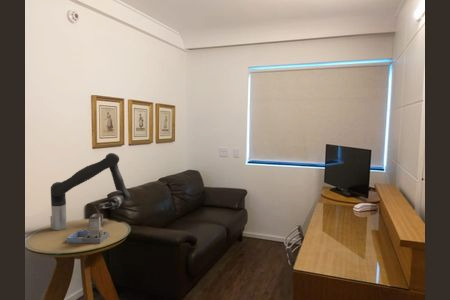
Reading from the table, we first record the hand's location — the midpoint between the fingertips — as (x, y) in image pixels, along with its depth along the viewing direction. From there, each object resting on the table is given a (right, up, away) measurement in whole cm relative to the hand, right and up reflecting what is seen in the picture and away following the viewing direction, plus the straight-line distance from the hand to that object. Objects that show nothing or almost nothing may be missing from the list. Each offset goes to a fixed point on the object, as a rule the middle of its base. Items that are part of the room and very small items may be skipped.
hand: (104, 208), depth 208 cm
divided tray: (-6, -18, -9) cm, 22 cm away
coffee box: (-1, -19, -10) cm, 21 cm away
